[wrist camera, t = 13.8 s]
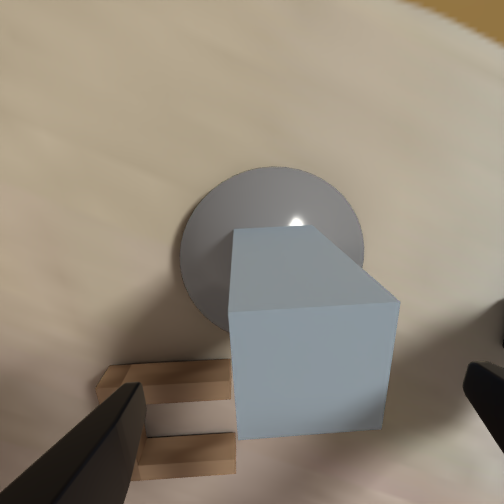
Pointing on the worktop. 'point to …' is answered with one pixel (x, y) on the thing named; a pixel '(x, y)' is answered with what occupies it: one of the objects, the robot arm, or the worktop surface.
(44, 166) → the worktop surface
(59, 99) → the worktop surface
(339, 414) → the slate block
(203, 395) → the walnut bay
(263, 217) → the charcoal trivet
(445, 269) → the worktop surface
